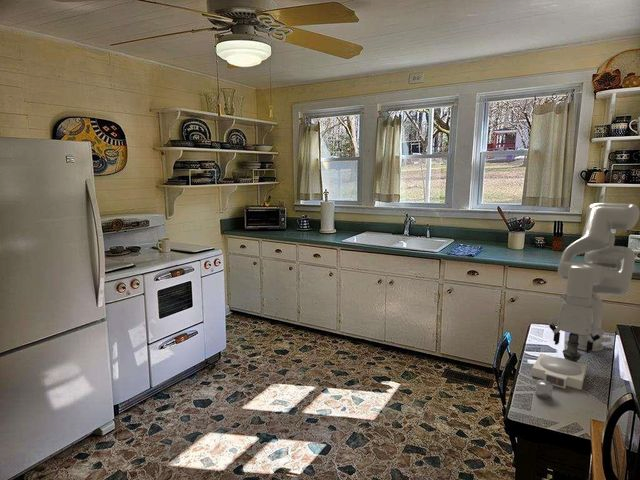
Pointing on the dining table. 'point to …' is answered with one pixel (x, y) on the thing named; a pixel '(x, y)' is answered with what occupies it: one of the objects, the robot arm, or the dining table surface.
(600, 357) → the dining table surface
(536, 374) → the scale
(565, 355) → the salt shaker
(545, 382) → the steel spacer
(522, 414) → the dining table surface
